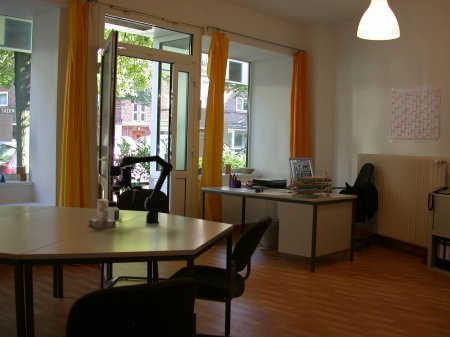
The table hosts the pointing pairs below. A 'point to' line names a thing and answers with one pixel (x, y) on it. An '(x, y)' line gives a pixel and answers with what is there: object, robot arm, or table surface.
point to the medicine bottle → (113, 210)
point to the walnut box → (102, 223)
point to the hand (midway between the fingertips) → (126, 202)
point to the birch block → (102, 210)
